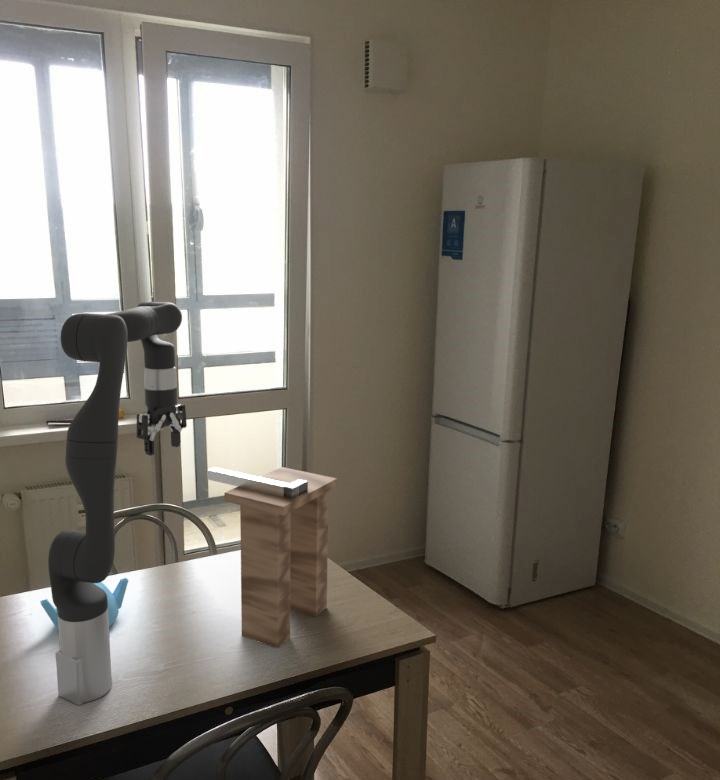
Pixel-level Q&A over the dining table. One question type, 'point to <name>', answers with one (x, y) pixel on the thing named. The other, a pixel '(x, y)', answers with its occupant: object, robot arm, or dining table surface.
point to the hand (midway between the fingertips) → (163, 450)
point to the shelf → (282, 554)
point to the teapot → (113, 599)
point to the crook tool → (258, 483)
